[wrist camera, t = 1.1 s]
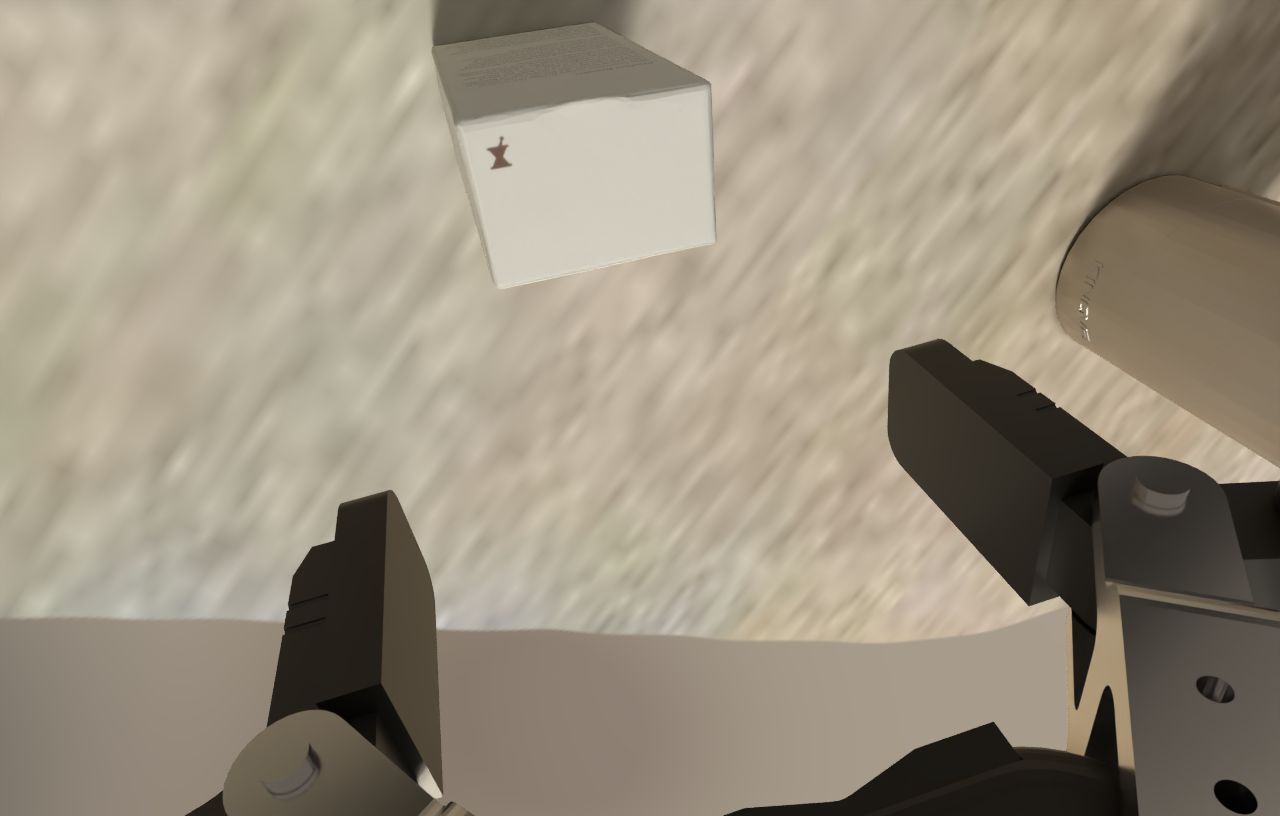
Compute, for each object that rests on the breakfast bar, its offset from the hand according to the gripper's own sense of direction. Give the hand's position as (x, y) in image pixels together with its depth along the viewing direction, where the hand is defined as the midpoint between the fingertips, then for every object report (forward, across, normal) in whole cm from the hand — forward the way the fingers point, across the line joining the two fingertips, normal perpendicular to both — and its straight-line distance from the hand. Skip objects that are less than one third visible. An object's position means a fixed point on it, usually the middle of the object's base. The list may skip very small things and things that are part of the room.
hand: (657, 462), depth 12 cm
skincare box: (+21, -1, -2) cm, 21 cm away
